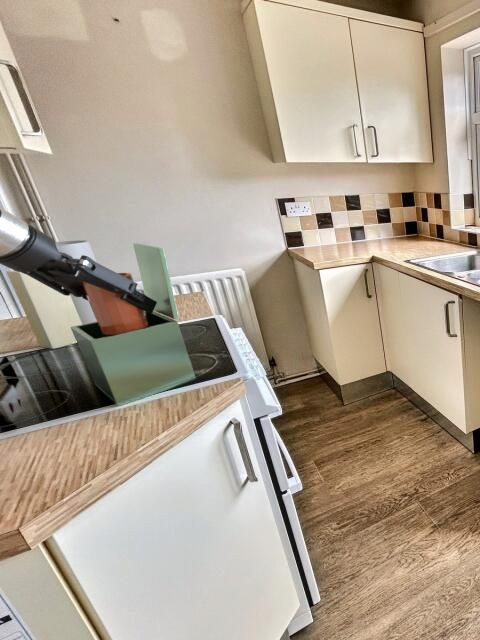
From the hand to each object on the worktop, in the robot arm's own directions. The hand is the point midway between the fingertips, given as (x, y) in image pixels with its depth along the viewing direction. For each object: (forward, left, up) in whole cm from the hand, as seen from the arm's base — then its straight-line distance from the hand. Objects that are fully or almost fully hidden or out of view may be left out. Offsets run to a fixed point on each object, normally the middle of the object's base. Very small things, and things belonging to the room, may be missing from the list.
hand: (135, 307), depth 89 cm
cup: (+2, -3, -4) cm, 5 cm away
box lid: (+2, +4, +5) cm, 7 cm away
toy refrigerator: (-51, -7, -17) cm, 54 cm away
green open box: (+2, -3, -16) cm, 17 cm away
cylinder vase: (-71, +3, -16) cm, 73 cm away
